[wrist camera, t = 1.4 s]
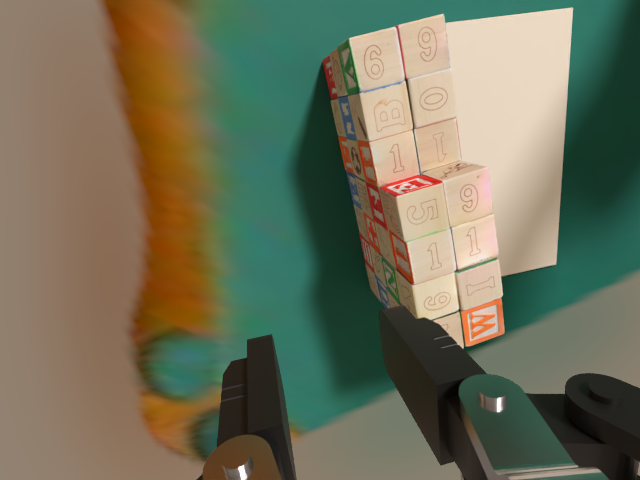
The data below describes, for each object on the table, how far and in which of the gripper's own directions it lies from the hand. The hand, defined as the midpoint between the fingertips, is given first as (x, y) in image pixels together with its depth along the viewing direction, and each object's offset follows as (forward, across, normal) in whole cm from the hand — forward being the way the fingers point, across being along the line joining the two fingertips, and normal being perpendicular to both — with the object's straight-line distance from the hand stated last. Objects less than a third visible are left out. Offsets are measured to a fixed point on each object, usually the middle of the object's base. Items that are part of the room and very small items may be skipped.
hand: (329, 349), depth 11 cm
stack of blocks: (+24, -10, 0) cm, 26 cm away
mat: (+23, -21, 0) cm, 31 cm away
